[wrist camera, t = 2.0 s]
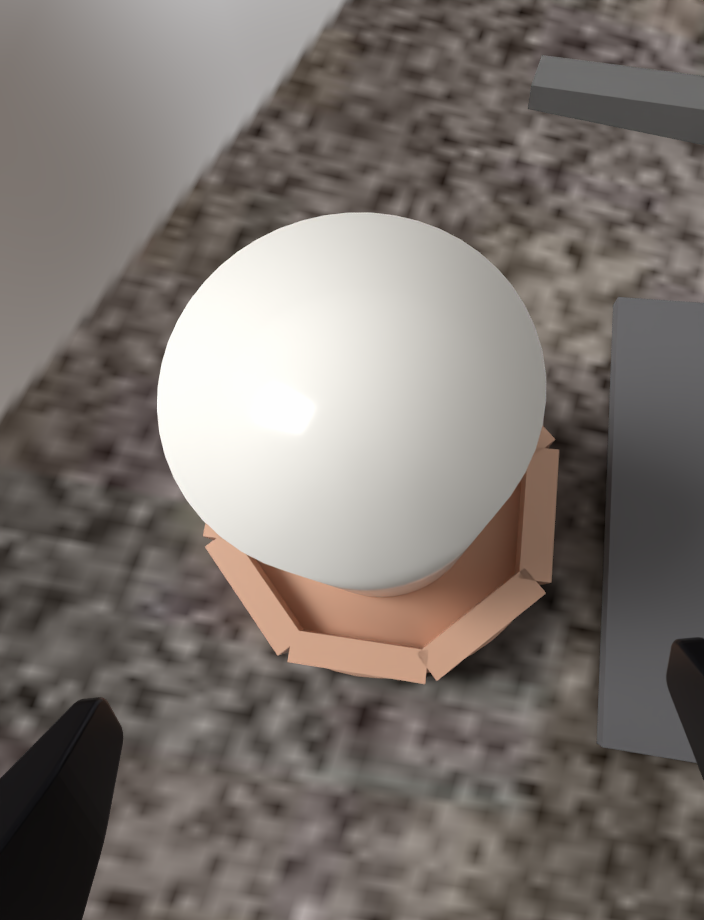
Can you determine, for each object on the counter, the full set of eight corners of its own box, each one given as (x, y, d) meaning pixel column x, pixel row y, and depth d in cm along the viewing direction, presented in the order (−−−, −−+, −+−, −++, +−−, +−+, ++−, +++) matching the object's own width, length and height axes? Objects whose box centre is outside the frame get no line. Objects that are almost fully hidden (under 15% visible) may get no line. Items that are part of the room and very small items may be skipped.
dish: (536, 700, 20) (550, 711, 18) (198, 646, 21) (174, 650, 19) (556, 371, 23) (571, 346, 20) (256, 344, 24) (241, 319, 22)
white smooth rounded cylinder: (468, 610, 20) (532, 607, 9) (271, 582, 20) (117, 550, 10) (485, 418, 21) (557, 223, 11) (302, 400, 22) (199, 203, 11)
